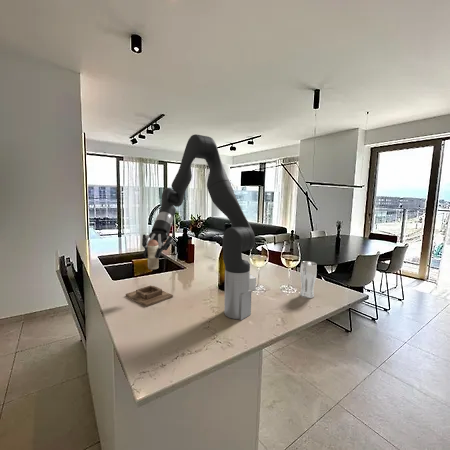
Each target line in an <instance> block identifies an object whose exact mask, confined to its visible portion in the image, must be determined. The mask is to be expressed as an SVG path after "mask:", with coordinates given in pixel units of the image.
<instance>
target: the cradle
mask: <svg viewBox="0 0 450 450" xmlns="http://www.w3.org/2000/svg"><path fill="white" fill-rule="evenodd" d="M125 297H127V298H129V299H130V300H132V301H134V302H136V303H138V304H140V305H142V306H144V307H146V308H148V307H150V306H153V305H156V304H158V303H161V302H165V301H166V300H169V299H171V298H173V297H174V295H173V294H171V293H168V292H167V291H163V289H162V288H160V287H157V286H155V285H149V286H145V287H141V288H138V289H135V290H134V291H131V292H128V293H125Z"/></svg>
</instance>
